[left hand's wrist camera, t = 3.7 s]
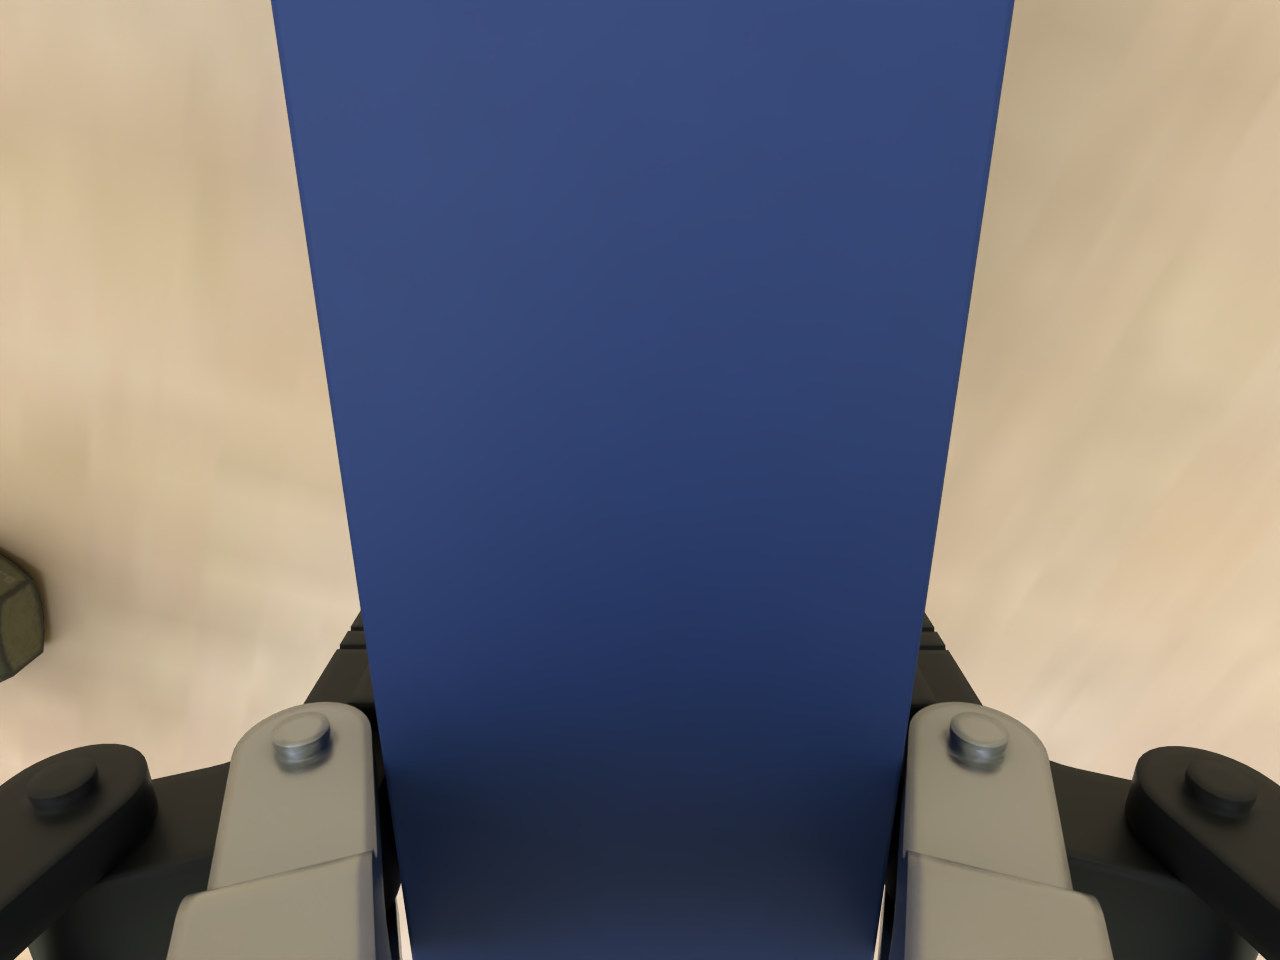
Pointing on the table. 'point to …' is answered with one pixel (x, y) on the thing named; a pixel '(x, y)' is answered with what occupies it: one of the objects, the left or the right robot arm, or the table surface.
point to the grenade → (18, 620)
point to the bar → (642, 442)
